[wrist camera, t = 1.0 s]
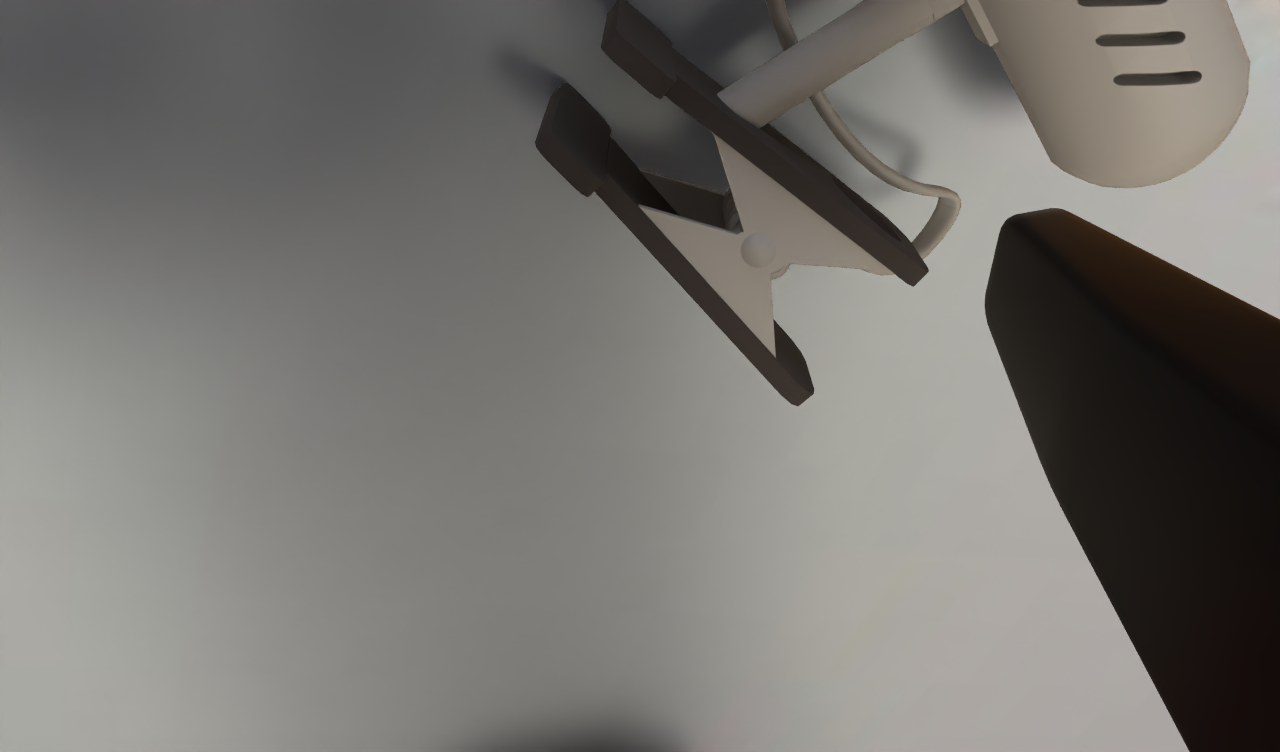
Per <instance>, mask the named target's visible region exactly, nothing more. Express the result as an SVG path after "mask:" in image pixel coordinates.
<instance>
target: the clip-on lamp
mask: <svg viewBox="0 0 1280 752" xmlns="http://www.w3.org/2000/svg"><path fill="white" fill-rule="evenodd" d="M766 3H767V7H768V10H769V14H770V17H771V21H772V23H773V26H774V28H775V30H776V33H777V35H778V38H779V40H780V43H781V45H782V48H783V50H784V52H782V53H780V54H779V55H777V56H776V57H774V58H773V59H771V60H769V61H768V62H766V63H765V64H763V65H762V66H760V67H758V68H757V69H755V70H754V71H752V72H750V73H749V74H747V75H746V76H744V77H743V78H741V79H739V80H738V81H736V82H735V83H733V84H732V85H730V86H728V87H727V88H725V89H724V88H723V87H721V86H720V85H719V84H718V83H716V82H715V81H714V80H713V79H711V78H710V77H709V76H707V75H706V74H705V73H704V72H702V71H701V70H700V69H699V68H697V67H696V66H695V65H694V64H692V63H691V62H690V61H688V60H687V59H686V58H685V57H683V56H682V55H681V54H680V53H678V52H677V51H676V50H675V49H673V47H672V42H671V41H670V40H669V38H668V37H667V36H666V35H665V34H664V33H663V32H661V31H660V30H659V29H658V28H657V27H656V26H655V25H654V24H652V23H651V22H650V21H649V20H648V19H647V18H646V17H644V16H643V15H642V14H641V13H640V12H639V11H638V10H636V9H635V8H634V7H633V6H632V5H631V4H629V3H628V2H627V1H625V0H618V1H617V3H616V4H615V5H614V6H613V8H612V9H611V10H610V11H609V13H608V14H607V19H606V24H605V29H604V34H603V39H602V44H601V48H602V50H603V51H604V52H605V54H606V55H607V56H608V57H609V58H610V59H611V60H612V61H614V62H615V63H616V64H617V65H618V66H619V67H620V68H622V69H623V70H624V71H625V72H626V73H627V74H629V75H630V76H631V77H632V78H633V79H634V80H636V81H637V82H638V83H639V84H640V85H641V86H643V87H644V88H645V89H646V90H647V91H649V92H650V93H651V94H653V95H654V96H655V97H657V98H659V99H662V98H663V96H664V95H665V96H666V97H667V98H669V99H670V100H671V101H673V102H674V103H675V104H676V105H678V106H679V107H680V108H682V109H683V110H684V111H685V112H687V113H688V114H689V115H691V116H692V117H693V118H694V119H696V120H697V121H698V122H700V123H701V124H702V125H704V126H705V127H706V128H707V129H709V130H710V131H711V132H713V134H714V137H715V140H716V144H717V147H718V150H719V153H720V156H721V160H722V163H723V166H724V169H725V173H726V176H727V179H728V182H729V186H730V189H729V190H728V191H727V193H726V194H723V193H719V192H716V191H713V190H709V189H706V188H703V187H699V186H696V185H692V184H689V183H686V182H682V181H679V180H676V179H672V178H669V177H666V176H662V175H659V174H655V173H652V172H649V171H645V170H642V169H639V168H638V167H637V165H636V164H635V163H634V162H633V161H632V160H631V159H630V158H629V157H628V155H627V154H626V153H625V152H624V151H623V150H622V149H621V148H620V146H619V145H618V144H617V143H616V142H615V141H614V140H613V139H612V137H611V136H610V135H611V129H610V127H609V125H608V124H607V122H606V121H605V120H604V119H603V118H602V116H601V115H600V114H599V113H598V112H597V111H596V110H595V109H594V108H593V107H592V106H591V105H590V104H589V103H588V102H587V101H586V100H585V99H584V98H583V97H582V96H581V95H580V94H579V93H578V92H577V91H576V90H575V89H574V88H573V87H572V86H571V85H569V84H568V83H564V84H563V85H562V86H561V87H560V88H559V89H558V90H557V91H556V92H555V93H554V94H553V95H552V96H551V97H550V100H549V103H548V106H547V109H546V112H545V114H544V117H543V120H542V123H541V126H540V129H539V132H538V135H537V138H536V141H535V144H536V147H537V149H538V150H539V152H540V153H541V154H542V155H543V157H544V158H545V159H546V160H547V161H548V162H549V163H550V164H551V165H552V166H553V167H554V168H555V169H556V170H557V171H558V172H559V173H560V174H561V175H562V176H563V177H564V178H565V179H566V180H567V181H568V182H569V183H570V184H571V185H572V186H573V187H574V188H575V189H577V190H578V191H579V192H580V193H581V194H583V195H584V196H586V197H589V196H590V195H591V194H592V193H593V192H594V191H595V193H596V194H597V195H598V196H599V197H600V198H601V199H602V200H603V201H604V202H605V203H606V205H607V206H608V207H609V208H610V209H611V210H612V211H613V212H614V213H615V214H616V215H617V217H618V218H619V219H620V220H621V221H622V222H623V223H624V224H625V225H626V226H627V227H628V229H629V230H630V231H631V232H632V233H633V234H634V235H635V236H636V237H637V238H638V239H639V241H640V242H641V243H642V244H643V245H644V246H645V247H646V248H647V249H648V250H649V251H650V253H651V254H652V255H653V256H654V257H655V258H656V259H657V260H658V261H659V262H660V263H661V265H662V266H663V267H664V268H665V269H666V270H667V271H668V272H669V273H670V274H671V276H672V277H673V278H674V279H675V280H676V281H677V282H678V283H679V284H680V285H681V286H682V288H683V289H684V290H685V291H686V292H687V293H688V294H689V295H690V296H691V297H692V298H693V300H694V301H695V302H696V303H697V304H698V305H699V306H700V307H701V308H702V309H703V310H704V312H705V313H706V314H707V315H708V316H709V317H710V318H711V319H712V320H713V321H714V322H715V324H716V325H717V326H718V327H719V328H720V329H721V330H722V331H723V332H724V333H725V334H726V336H727V337H728V338H729V339H730V340H731V341H732V342H733V343H734V344H735V345H736V346H737V348H738V349H739V350H740V351H741V352H742V353H743V354H744V355H745V356H746V357H747V358H748V360H749V361H750V362H751V363H752V364H753V365H754V366H755V367H756V368H757V369H758V370H759V372H760V373H761V374H762V375H763V376H764V377H765V378H766V379H767V380H768V381H769V382H770V384H771V385H772V386H773V387H774V388H775V389H776V390H777V391H778V392H779V393H780V394H781V395H782V396H783V397H784V398H785V399H786V400H787V401H789V402H790V403H791V404H793V405H796V406H799V405H800V404H802V403H803V402H804V401H805V400H807V399H808V398H809V397H810V396H812V395H813V394H814V387H813V384H812V380H811V377H810V374H809V371H808V367H807V364H806V361H805V359H804V357H803V355H802V353H801V352H800V350H799V349H798V347H797V346H796V345H795V343H794V342H793V341H792V339H791V338H790V337H789V336H788V335H787V334H786V333H785V332H784V330H783V329H782V328H781V327H780V326H779V325H778V324H777V323H776V321H775V320H774V319H773V306H772V291H771V279H776V278H778V277H780V276H782V275H783V274H784V273H785V272H786V271H787V269H788V268H789V265H790V264H802V265H815V266H828V267H842V268H855V269H862V270H864V271H866V272H870V273H874V274H878V275H892V274H896V275H897V276H898V277H899V278H901V279H902V280H903V281H904V282H906V283H907V284H909V285H911V286H913V287H914V286H915V285H916V284H917V283H918V282H919V281H920V280H921V279H922V278H923V277H924V276H925V275H926V274H927V273H928V272H929V271H928V268H927V266H926V264H925V263H924V261H923V259H924V258H925V257H926V256H927V255H929V254H930V252H931V251H932V250H933V249H934V248H935V247H936V246H937V245H938V243H939V242H940V241H941V240H942V239H943V237H944V236H945V235H946V233H947V232H948V230H949V229H950V228H951V226H952V225H953V223H954V221H955V219H956V218H957V216H958V213H959V211H960V208H961V199H960V197H959V196H958V194H957V193H956V192H954V191H952V190H950V189H947V188H944V187H941V186H936V185H929V184H923V183H920V182H916V181H914V180H911V179H909V178H907V177H905V176H903V175H900V174H899V173H897V172H896V171H894V170H892V169H891V168H889V167H888V166H886V165H885V164H883V163H882V162H881V161H880V160H878V159H877V158H876V157H875V156H874V155H873V154H871V153H870V152H869V151H868V150H867V149H866V148H865V147H864V146H863V145H862V144H861V143H860V142H859V141H858V139H857V138H856V137H855V136H854V135H853V134H852V133H851V132H850V131H849V129H848V128H847V127H846V125H845V124H844V122H843V121H842V120H841V118H840V117H839V116H838V114H837V113H836V112H835V110H834V109H833V107H832V106H831V104H830V103H829V101H828V99H827V98H826V96H825V94H824V93H823V91H822V89H824V88H826V87H827V86H829V85H831V84H832V83H834V82H835V81H837V80H839V79H840V78H842V77H843V76H845V75H847V74H848V73H850V72H852V71H853V70H855V69H856V68H858V67H860V66H861V65H863V64H864V63H866V62H868V61H869V60H871V59H873V58H874V57H876V56H877V55H879V54H881V53H882V52H884V51H886V50H887V49H889V48H890V47H892V46H894V45H895V44H897V43H898V42H900V41H903V39H906V38H908V37H910V36H912V35H914V34H915V33H917V32H919V31H920V30H922V29H924V28H925V27H927V26H928V25H930V24H932V23H933V22H935V21H937V20H938V19H940V18H941V17H943V16H945V15H946V14H948V13H950V12H951V11H953V10H954V9H956V8H958V7H959V6H960V7H961V9H962V11H963V13H964V15H965V17H966V19H967V21H968V23H969V25H970V27H971V29H972V30H973V32H974V34H975V36H976V38H977V39H978V40H980V41H982V42H983V43H985V44H987V45H988V46H990V47H991V46H993V48H994V50H995V52H996V54H997V56H998V58H999V60H1000V62H1001V64H1002V66H1003V68H1004V70H1005V72H1006V74H1007V76H1008V78H1009V80H1010V82H1011V84H1012V86H1013V88H1014V90H1015V91H1016V93H1017V95H1018V97H1019V99H1020V101H1021V103H1022V105H1023V107H1024V109H1025V111H1026V113H1027V115H1028V117H1029V119H1030V121H1031V123H1032V125H1033V127H1034V129H1035V131H1036V133H1037V135H1038V137H1039V138H1040V140H1041V142H1042V144H1043V146H1044V148H1045V150H1046V152H1047V154H1048V156H1049V158H1050V160H1051V162H1053V163H1054V164H1055V165H1056V166H1058V167H1059V168H1060V169H1062V170H1063V171H1065V172H1067V173H1069V174H1071V175H1073V176H1075V177H1077V178H1079V179H1082V180H1084V181H1087V182H1089V183H1093V184H1096V185H1099V186H1103V187H1112V188H1137V187H1144V186H1150V185H1155V184H1158V183H1161V182H1164V181H1168V180H1171V179H1173V178H1175V177H1177V176H1179V175H1181V174H1183V173H1186V172H1187V171H1189V170H1190V169H1192V168H1194V167H1195V166H1197V165H1198V164H1200V163H1201V162H1202V161H1203V160H1204V159H1206V158H1207V157H1208V156H1209V155H1210V154H1211V153H1212V152H1213V151H1215V150H1216V149H1217V148H1218V147H1219V146H1220V145H1221V143H1222V142H1223V141H1224V140H1225V138H1226V137H1227V136H1228V134H1229V133H1230V131H1231V130H1232V128H1233V126H1234V125H1235V123H1236V122H1237V120H1238V118H1239V116H1240V114H1241V112H1242V110H1243V108H1244V105H1245V101H1246V98H1247V95H1248V83H1249V70H1250V61H1249V58H1248V56H1247V53H1246V50H1245V48H1244V45H1243V42H1242V40H1241V37H1240V35H1239V32H1238V29H1237V27H1236V24H1235V22H1234V19H1233V16H1232V14H1231V11H1230V9H1229V6H1228V3H1227V1H1226V0H864V1H863V2H861V3H859V4H858V5H856V6H855V7H853V8H852V9H850V10H848V11H847V12H845V13H844V14H842V15H841V16H839V17H837V18H836V19H834V20H833V21H831V22H829V23H828V24H826V25H825V26H823V27H822V28H820V29H818V30H817V31H815V32H814V33H812V34H811V35H809V36H807V37H806V38H804V39H803V40H801V41H799V42H798V41H797V38H796V35H795V33H794V30H793V28H792V25H791V22H790V20H789V16H788V12H787V9H786V5H785V1H784V0H766ZM808 98H810V100H811V102H812V103H813V105H814V107H815V108H816V110H817V111H818V113H819V115H820V116H821V117H822V119H823V120H824V121H825V123H826V124H827V126H828V127H829V128H830V130H831V131H832V132H833V134H834V135H835V136H836V138H837V139H838V140H839V141H840V143H841V144H842V145H843V146H844V147H845V148H846V149H847V150H848V151H849V152H850V154H851V155H852V156H853V157H854V158H855V159H856V160H857V161H858V162H859V163H861V164H862V165H863V166H864V167H865V168H866V169H868V170H869V171H870V172H871V173H872V174H874V175H875V176H877V177H878V178H880V179H882V180H883V181H885V182H886V183H888V184H890V185H892V186H894V187H897V188H899V189H901V190H904V191H908V192H912V193H916V194H920V195H926V196H933V197H939V200H938V203H937V206H936V209H935V210H934V212H933V214H932V216H931V218H930V219H929V221H928V222H927V224H926V225H925V227H924V228H923V230H922V231H921V232H920V233H919V235H918V236H917V237H916V238H915V239H914V240H913V242H912V243H911V242H910V241H909V239H908V238H907V237H906V236H905V235H904V234H903V233H902V232H901V231H900V230H899V229H898V228H897V227H896V226H895V225H894V224H893V223H892V222H891V221H890V220H889V219H888V218H887V217H885V216H884V215H883V214H882V213H881V212H879V211H878V210H877V209H876V208H874V207H873V206H872V205H870V204H869V203H868V202H867V201H865V200H864V199H863V198H862V197H860V196H859V195H858V194H857V193H855V192H854V191H853V190H852V189H850V188H849V187H848V186H846V185H845V184H844V183H843V182H841V181H840V180H839V179H838V178H836V177H835V176H834V175H833V174H831V173H830V172H829V171H828V170H826V169H825V168H824V167H822V166H821V165H820V164H819V163H817V162H816V161H815V160H814V159H812V158H811V157H810V156H809V155H807V154H806V153H805V152H803V151H802V150H801V149H800V148H798V147H797V146H796V145H795V144H793V143H792V142H791V141H790V140H788V139H787V138H786V137H785V136H783V135H782V134H781V133H779V132H778V131H777V130H776V129H774V128H773V127H772V126H771V125H769V124H768V123H769V122H771V121H772V120H774V119H776V118H777V117H779V116H780V115H782V114H784V113H785V112H787V111H788V110H790V109H792V108H793V107H795V106H797V105H798V104H800V103H801V102H803V101H805V100H806V99H808Z"/></svg>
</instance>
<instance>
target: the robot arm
mask: <svg viewBox="0 0 1280 752" xmlns="http://www.w3.org/2000/svg"><path fill="white" fill-rule="evenodd" d="M985 313H986V318H987V323H988V326H989V329H990V331H991V334H992V337H993V339H994V342H995V345H996V347H997V350H998V352H999V355H1000V358H1001V360H1002V363H1003V365H1004V368H1005V371H1006V373H1007V376H1008V378H1009V381H1010V384H1011V386H1012V389H1013V392H1014V394H1015V397H1016V399H1017V402H1018V405H1019V407H1020V410H1021V412H1022V415H1023V418H1024V420H1025V423H1026V426H1027V428H1028V431H1029V433H1030V436H1031V439H1032V441H1033V444H1034V446H1035V449H1036V452H1037V454H1038V457H1039V459H1040V462H1041V464H1042V467H1043V469H1044V471H1045V474H1046V476H1047V479H1048V481H1049V483H1050V486H1051V488H1052V490H1053V492H1054V494H1055V496H1056V498H1057V500H1058V502H1059V504H1060V506H1061V508H1062V510H1063V512H1064V514H1065V516H1066V518H1067V520H1068V522H1069V523H1070V525H1071V527H1072V529H1073V531H1074V533H1075V535H1076V537H1077V539H1078V541H1079V542H1080V544H1081V546H1082V548H1083V550H1084V552H1085V554H1086V556H1087V558H1088V560H1089V561H1090V563H1091V565H1092V567H1093V569H1094V571H1095V573H1096V575H1097V577H1098V579H1099V580H1100V582H1101V584H1102V586H1103V588H1104V590H1105V592H1106V594H1107V596H1108V598H1109V599H1110V601H1111V603H1112V605H1113V607H1114V609H1115V611H1116V613H1117V615H1118V617H1119V618H1120V620H1121V622H1122V624H1123V626H1124V628H1125V630H1126V632H1127V634H1128V636H1129V637H1130V639H1131V641H1132V643H1133V645H1134V647H1135V649H1136V651H1137V653H1138V655H1139V656H1140V658H1141V660H1142V662H1143V664H1144V666H1145V668H1146V670H1147V672H1148V674H1149V675H1150V677H1151V679H1152V681H1153V683H1154V685H1155V687H1156V689H1157V691H1158V693H1159V694H1160V696H1161V698H1162V700H1163V702H1164V704H1165V706H1166V708H1167V710H1168V712H1169V713H1170V715H1171V717H1172V719H1173V721H1174V723H1175V725H1176V727H1177V729H1178V731H1179V732H1180V734H1181V736H1182V738H1183V740H1184V742H1185V744H1186V746H1187V748H1188V750H1189V751H1190V752H1280V319H1278V318H1276V317H1274V316H1272V315H1270V314H1268V313H1266V312H1264V311H1262V310H1260V309H1258V308H1256V307H1254V306H1252V305H1250V304H1248V303H1246V302H1244V301H1242V300H1240V299H1238V298H1237V297H1235V296H1233V295H1231V294H1229V293H1227V292H1225V291H1223V290H1221V289H1219V288H1217V287H1215V286H1213V285H1211V284H1209V283H1207V282H1205V281H1203V280H1201V279H1199V278H1197V277H1195V276H1193V275H1192V274H1190V273H1188V272H1186V271H1184V270H1182V269H1180V268H1178V267H1176V266H1174V265H1172V264H1170V263H1168V262H1166V261H1164V260H1162V259H1160V258H1158V257H1156V256H1154V255H1152V254H1150V253H1148V252H1147V251H1145V250H1143V249H1141V248H1139V247H1137V246H1135V245H1133V244H1131V243H1129V242H1127V241H1125V240H1123V239H1121V238H1119V237H1117V236H1115V235H1113V234H1111V233H1109V232H1107V231H1105V230H1103V229H1101V228H1100V227H1098V226H1096V225H1094V224H1092V223H1090V222H1088V221H1086V220H1084V219H1082V218H1080V217H1078V216H1076V215H1074V214H1072V213H1070V212H1068V211H1065V210H1063V209H1059V208H1050V209H1044V210H1039V211H1033V212H1027V213H1022V214H1016V215H1014V216H1012V217H1010V218H1008V219H1007V220H1006V221H1005V223H1004V224H1003V226H1002V227H1001V230H1000V233H999V237H998V242H997V246H996V250H995V255H994V259H993V263H992V268H991V272H990V276H989V281H988V285H987V289H986V295H985Z"/></svg>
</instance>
